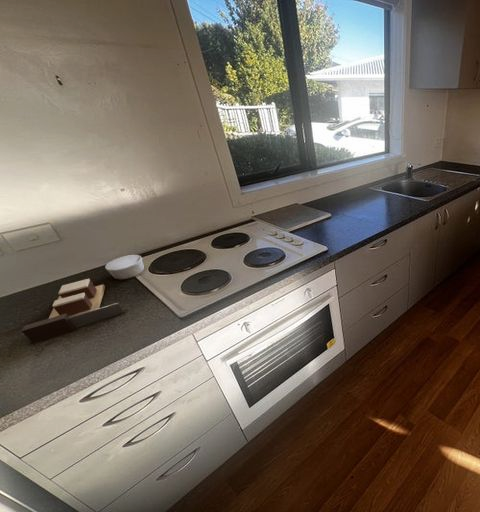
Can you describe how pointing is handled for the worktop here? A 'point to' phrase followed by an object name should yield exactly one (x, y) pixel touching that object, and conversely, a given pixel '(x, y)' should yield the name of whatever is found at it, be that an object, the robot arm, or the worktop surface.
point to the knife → (67, 323)
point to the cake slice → (72, 304)
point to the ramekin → (125, 267)
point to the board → (95, 301)
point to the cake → (78, 289)
